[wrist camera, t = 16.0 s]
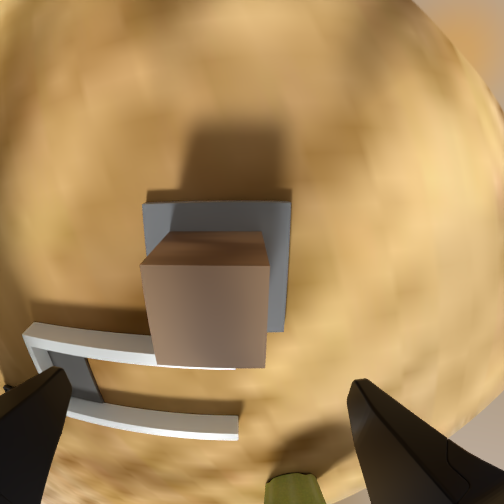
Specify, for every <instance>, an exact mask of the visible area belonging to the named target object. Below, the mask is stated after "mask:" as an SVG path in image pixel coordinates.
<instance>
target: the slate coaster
mask: <svg viewBox="0 0 504 504" xmlns="http://www.w3.org/2000/svg"><path fill="white" fill-rule="evenodd" d="M142 208H143V222H144V234H145V244H146V254H147V256H148V255H149V254H150V253H151V251H152V250H153V249H154V248H155V247H156V246H157V245H158V244H159V242H160V241H161V240H162V239H163V238H164V237H165V236H166V235H167V234H168V233H169V231H262V235H263V239H264V243H265V247H266V252H267V256H268V260H269V264H270V277H269V300H268V321H267V332H284V320H285V307H286V292H287V276H288V259H289V239H290V217H291V202H290V201H259V200H223V201H172V202H146V203H144V204H142Z"/></svg>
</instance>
